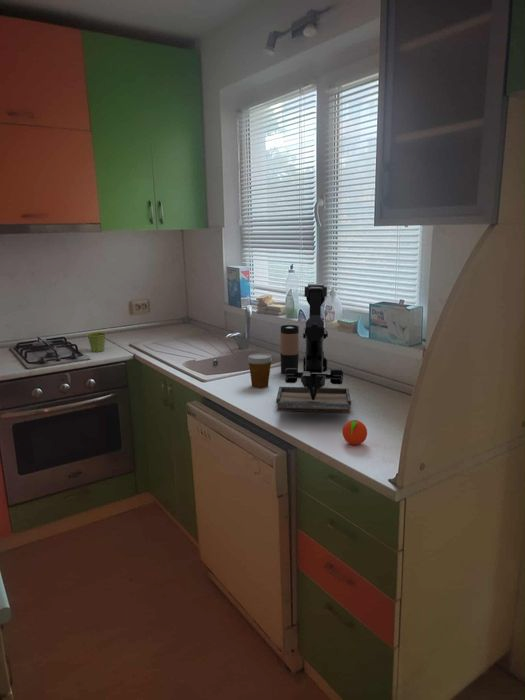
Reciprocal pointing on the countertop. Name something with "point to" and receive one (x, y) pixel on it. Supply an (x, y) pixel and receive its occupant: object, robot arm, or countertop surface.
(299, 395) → the tray
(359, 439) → the clementine
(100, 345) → the plant pot
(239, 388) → the countertop surface
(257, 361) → the disposable coffee cup
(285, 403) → the panel
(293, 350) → the travel mug
